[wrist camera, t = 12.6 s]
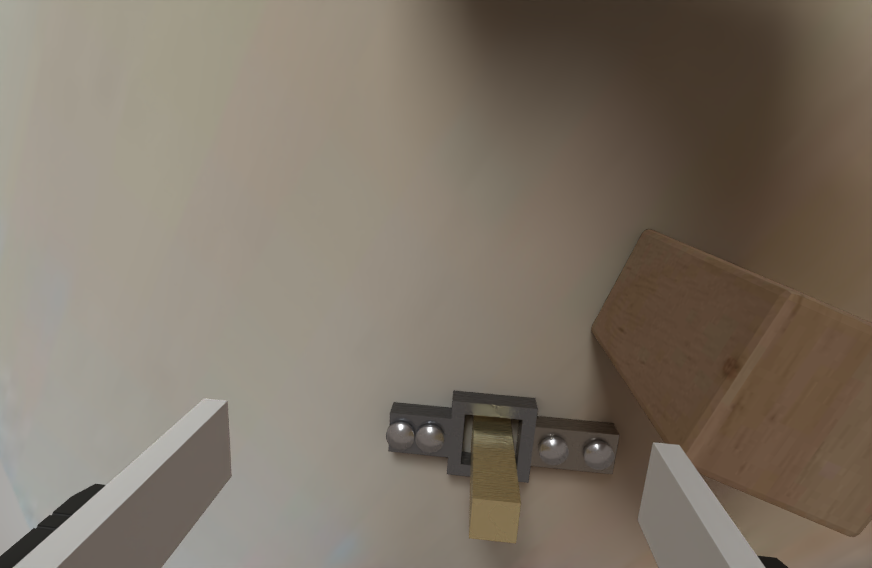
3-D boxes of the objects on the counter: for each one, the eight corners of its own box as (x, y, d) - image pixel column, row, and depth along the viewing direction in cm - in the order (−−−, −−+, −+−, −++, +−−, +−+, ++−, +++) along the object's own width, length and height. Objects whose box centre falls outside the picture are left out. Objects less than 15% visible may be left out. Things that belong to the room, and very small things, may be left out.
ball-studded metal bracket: (392, 384, 46) (387, 398, 44) (616, 405, 45) (624, 420, 42) (389, 455, 48) (384, 471, 46) (604, 477, 47) (611, 495, 44)
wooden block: (587, 329, 43) (676, 468, 24) (643, 226, 41) (792, 288, 22) (690, 373, 44) (858, 544, 24) (752, 273, 41) (996, 376, 22)
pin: (473, 413, 46) (472, 498, 35) (509, 416, 46) (520, 503, 35) (471, 444, 47) (468, 538, 36) (506, 448, 47) (515, 543, 35)
